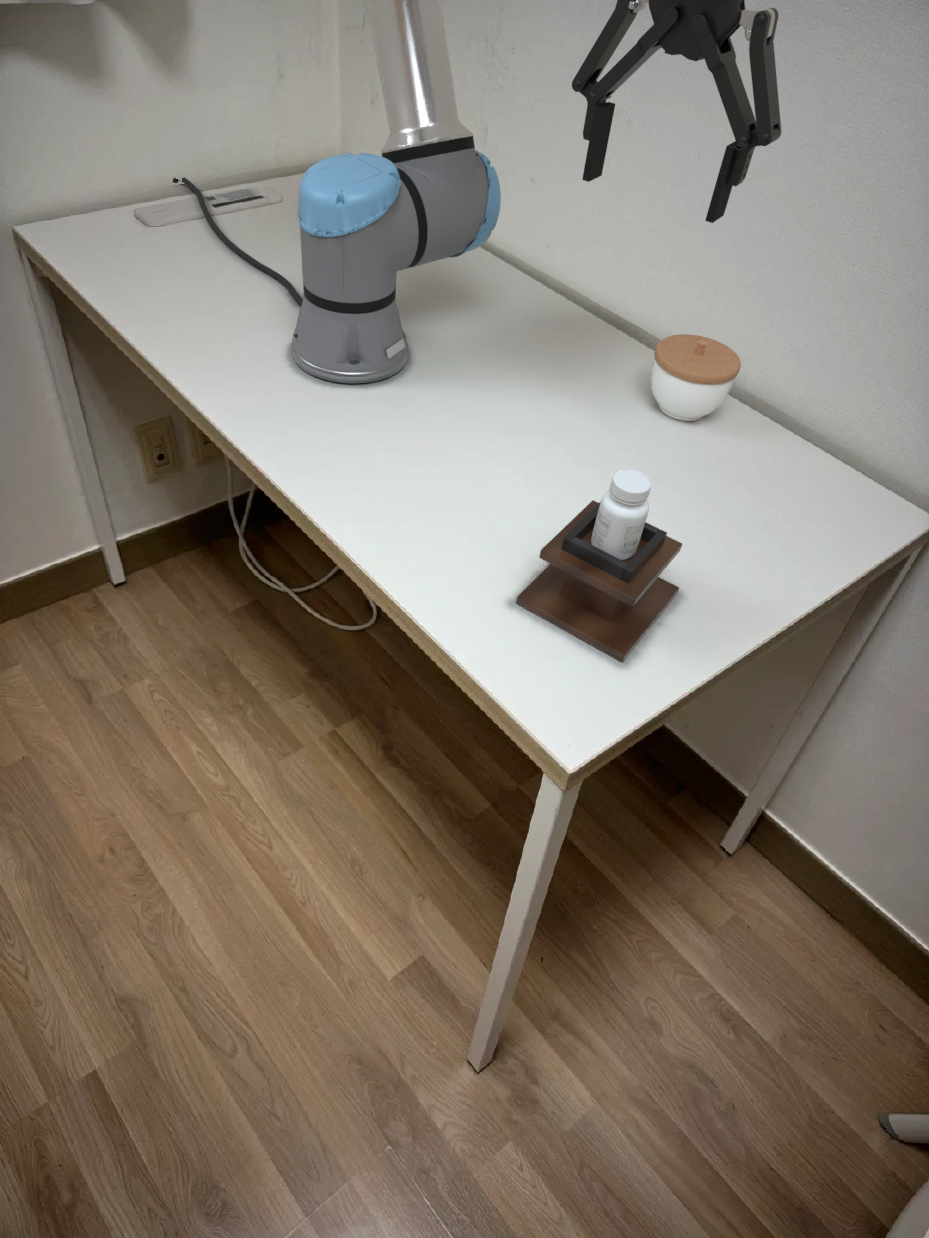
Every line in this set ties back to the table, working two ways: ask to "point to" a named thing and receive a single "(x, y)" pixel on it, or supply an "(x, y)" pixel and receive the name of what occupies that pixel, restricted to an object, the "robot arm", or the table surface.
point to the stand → (602, 586)
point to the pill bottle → (622, 514)
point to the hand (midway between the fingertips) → (651, 198)
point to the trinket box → (692, 375)
